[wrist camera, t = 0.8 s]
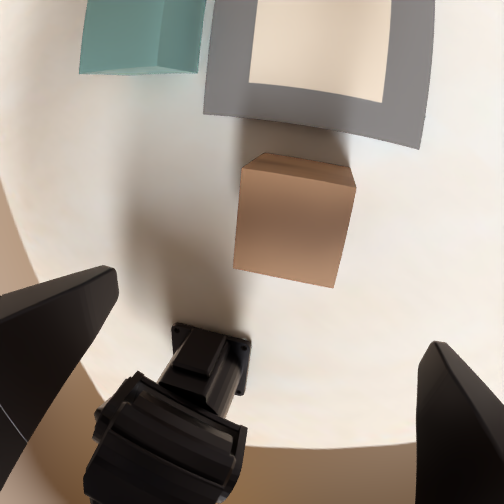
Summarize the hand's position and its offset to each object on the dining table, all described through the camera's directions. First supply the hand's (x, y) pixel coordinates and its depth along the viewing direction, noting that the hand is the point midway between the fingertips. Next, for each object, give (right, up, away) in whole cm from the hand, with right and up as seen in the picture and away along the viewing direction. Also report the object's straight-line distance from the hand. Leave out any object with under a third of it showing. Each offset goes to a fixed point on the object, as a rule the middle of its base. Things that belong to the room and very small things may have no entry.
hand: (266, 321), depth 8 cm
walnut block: (+3, +5, +11) cm, 12 cm away
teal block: (-6, +15, +8) cm, 18 cm away
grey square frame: (+3, +14, +6) cm, 15 cm away
